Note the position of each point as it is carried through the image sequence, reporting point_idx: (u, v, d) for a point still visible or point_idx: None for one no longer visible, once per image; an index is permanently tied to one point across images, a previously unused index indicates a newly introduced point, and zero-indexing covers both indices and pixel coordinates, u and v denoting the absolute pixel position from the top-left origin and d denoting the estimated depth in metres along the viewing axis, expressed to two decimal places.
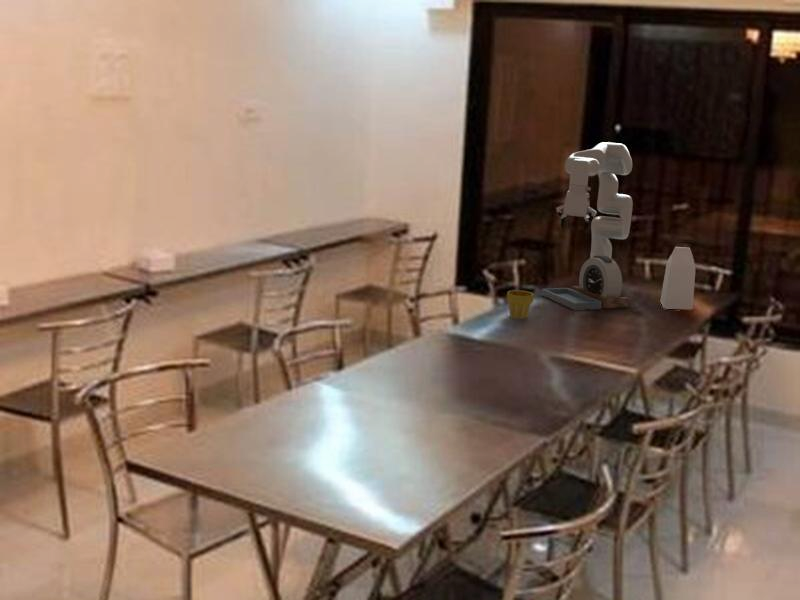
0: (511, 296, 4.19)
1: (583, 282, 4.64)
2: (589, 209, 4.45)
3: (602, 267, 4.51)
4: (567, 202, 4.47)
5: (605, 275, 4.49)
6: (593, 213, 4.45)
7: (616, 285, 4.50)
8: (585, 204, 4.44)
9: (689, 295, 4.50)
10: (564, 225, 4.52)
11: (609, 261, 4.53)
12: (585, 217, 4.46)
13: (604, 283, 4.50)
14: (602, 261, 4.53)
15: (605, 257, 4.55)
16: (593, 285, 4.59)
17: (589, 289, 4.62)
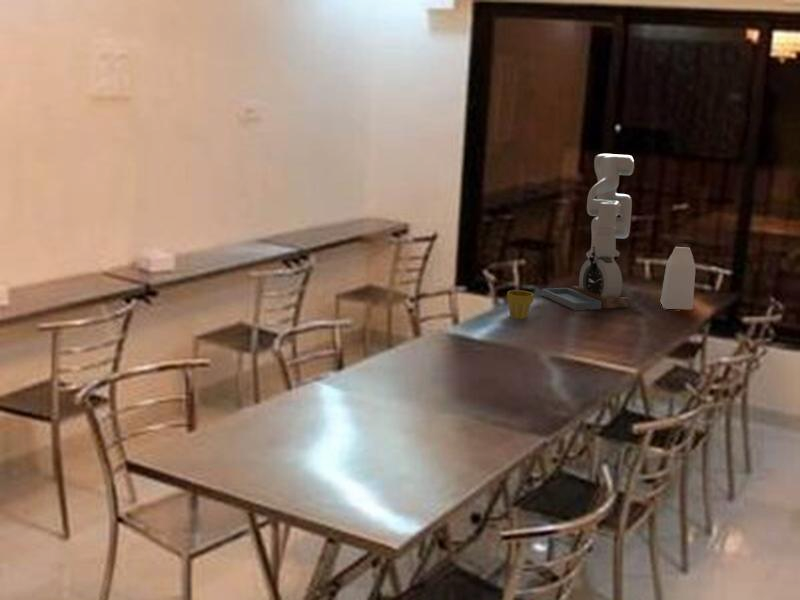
0: (511, 296, 4.19)
1: (583, 282, 4.64)
2: (615, 250, 4.58)
3: (602, 267, 4.51)
4: (600, 245, 4.52)
5: (605, 275, 4.49)
6: (618, 254, 4.59)
7: (616, 284, 4.50)
8: (615, 245, 4.55)
9: (689, 295, 4.50)
10: None
11: (609, 261, 4.53)
12: (612, 258, 4.57)
13: (604, 283, 4.50)
14: (602, 261, 4.53)
15: (605, 257, 4.55)
16: (593, 285, 4.59)
17: (589, 289, 4.62)
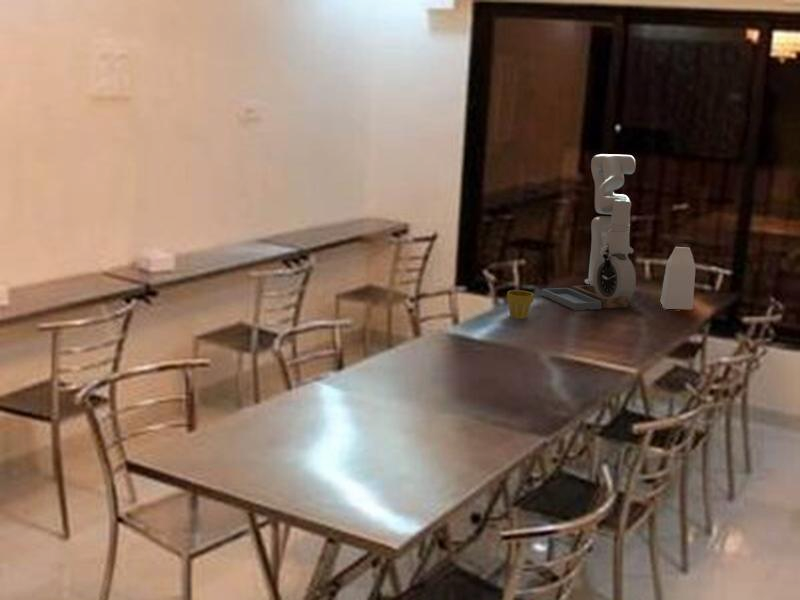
0: (511, 296, 4.19)
1: (597, 279, 4.67)
2: (629, 247, 4.60)
3: (616, 264, 4.54)
4: (614, 242, 4.55)
5: (619, 272, 4.52)
6: (631, 251, 4.61)
7: (630, 281, 4.53)
8: (629, 242, 4.58)
9: (689, 295, 4.50)
10: None
11: (623, 258, 4.55)
12: (626, 255, 4.60)
13: (618, 280, 4.53)
14: (616, 258, 4.55)
15: (619, 254, 4.57)
16: (607, 281, 4.62)
17: (603, 286, 4.65)
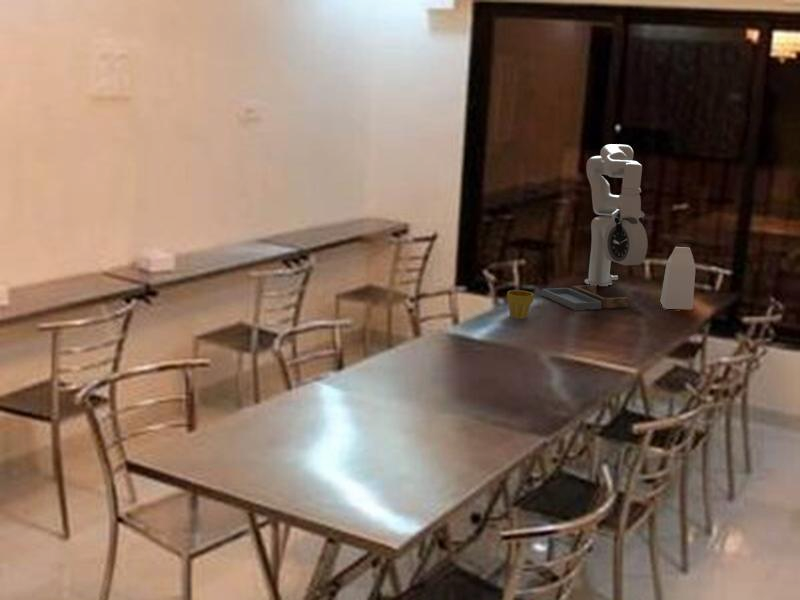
0: (511, 296, 4.19)
1: (607, 243, 4.65)
2: (640, 211, 4.58)
3: (628, 228, 4.51)
4: (625, 206, 4.53)
5: (631, 235, 4.50)
6: (642, 215, 4.59)
7: (642, 245, 4.51)
8: (640, 206, 4.56)
9: (689, 295, 4.50)
10: None
11: (634, 222, 4.53)
12: (637, 219, 4.58)
13: (630, 244, 4.51)
14: (627, 222, 4.53)
15: (630, 218, 4.55)
16: (618, 246, 4.60)
17: (614, 250, 4.63)
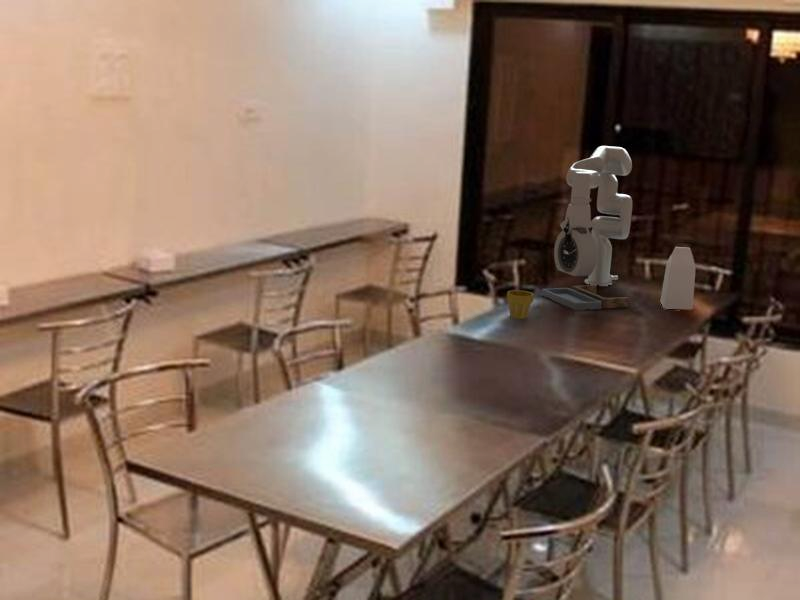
0: (511, 296, 4.19)
1: (558, 254, 4.56)
2: (590, 221, 4.49)
3: (577, 238, 4.42)
4: (574, 216, 4.44)
5: (579, 246, 4.41)
6: (593, 225, 4.50)
7: (591, 255, 4.42)
8: (590, 216, 4.47)
9: (689, 295, 4.50)
10: None
11: (584, 232, 4.44)
12: (587, 229, 4.49)
13: (579, 254, 4.42)
14: (577, 232, 4.44)
15: (580, 228, 4.46)
16: (568, 256, 4.51)
17: (564, 261, 4.54)
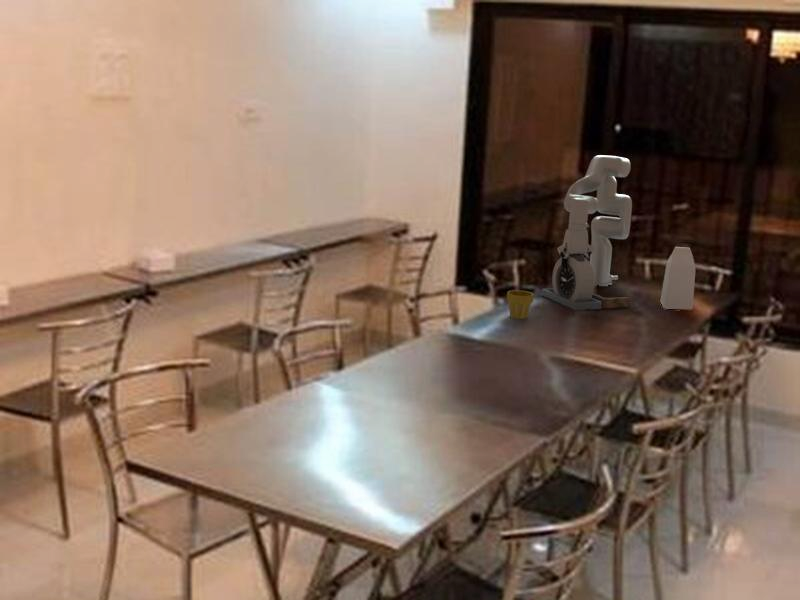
0: (511, 296, 4.19)
1: (556, 281, 4.59)
2: (588, 245, 4.52)
3: (574, 266, 4.45)
4: (572, 241, 4.46)
5: (577, 274, 4.44)
6: (591, 249, 4.53)
7: (588, 283, 4.45)
8: (587, 241, 4.50)
9: (689, 295, 4.50)
10: None
11: (581, 259, 4.47)
12: (586, 254, 4.51)
13: (576, 282, 4.45)
14: (574, 259, 4.47)
15: (577, 255, 4.49)
16: (565, 283, 4.54)
17: (562, 288, 4.57)
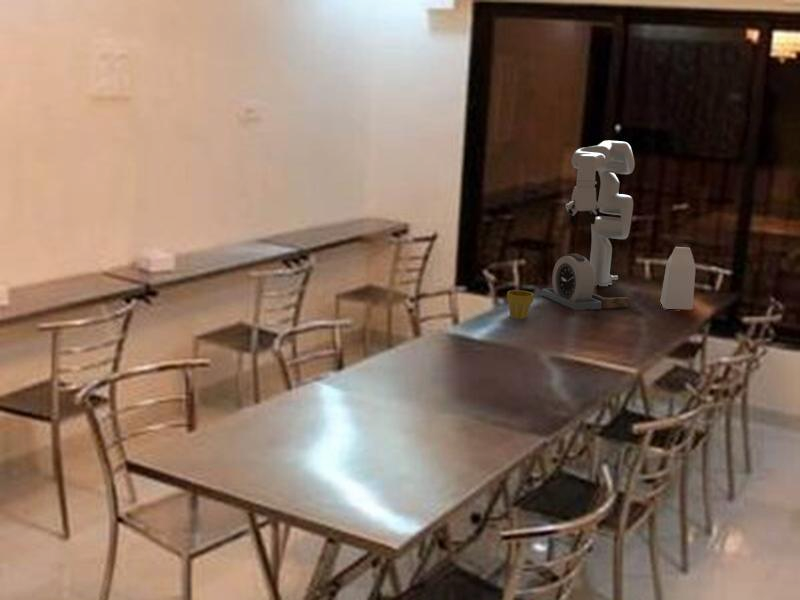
0: (511, 296, 4.19)
1: (556, 281, 4.59)
2: (596, 202, 4.53)
3: (574, 266, 4.45)
4: (580, 198, 4.47)
5: (577, 274, 4.44)
6: (599, 206, 4.54)
7: (588, 283, 4.45)
8: (595, 198, 4.50)
9: (689, 295, 4.50)
10: None
11: (581, 259, 4.47)
12: (594, 211, 4.53)
13: (576, 282, 4.45)
14: (574, 259, 4.47)
15: (577, 255, 4.49)
16: (565, 283, 4.54)
17: (562, 288, 4.57)
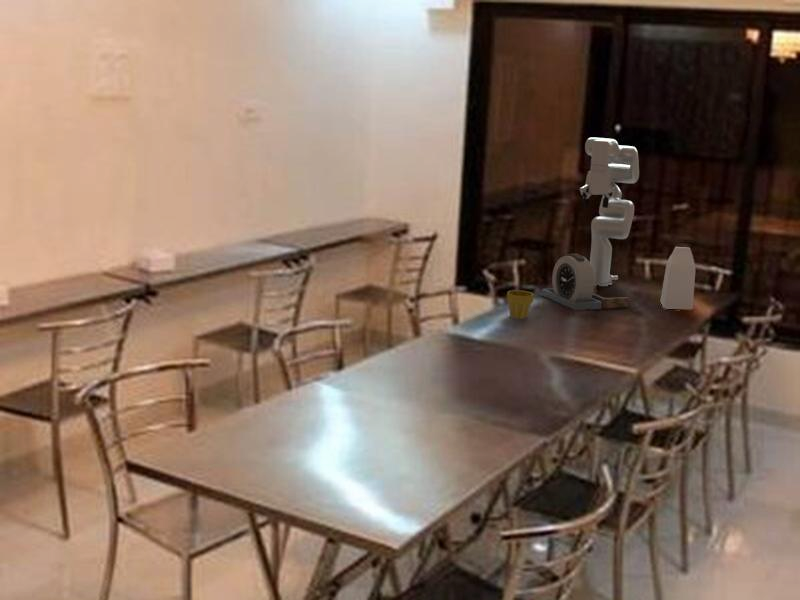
0: (511, 296, 4.19)
1: (556, 281, 4.59)
2: (609, 186, 4.67)
3: (574, 266, 4.45)
4: (594, 182, 4.62)
5: (577, 274, 4.44)
6: (612, 190, 4.68)
7: (588, 283, 4.45)
8: (609, 182, 4.65)
9: (689, 295, 4.50)
10: None
11: (581, 259, 4.47)
12: (607, 195, 4.67)
13: (576, 282, 4.45)
14: (574, 259, 4.47)
15: (577, 255, 4.49)
16: (565, 283, 4.54)
17: (562, 288, 4.57)
